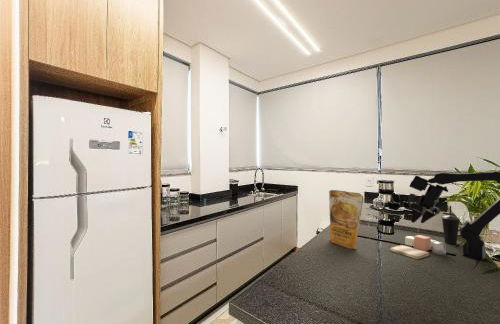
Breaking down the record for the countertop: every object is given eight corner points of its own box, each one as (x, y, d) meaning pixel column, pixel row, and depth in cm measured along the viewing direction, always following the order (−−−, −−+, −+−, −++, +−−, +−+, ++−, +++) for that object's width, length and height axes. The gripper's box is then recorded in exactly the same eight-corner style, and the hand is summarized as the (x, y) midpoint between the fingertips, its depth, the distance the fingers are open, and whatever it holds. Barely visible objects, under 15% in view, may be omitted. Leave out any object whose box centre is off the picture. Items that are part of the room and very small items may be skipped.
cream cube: (417, 245, 121) (417, 238, 121) (413, 247, 119) (413, 239, 119) (409, 243, 125) (409, 235, 125) (405, 244, 123) (405, 237, 123)
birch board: (429, 255, 108) (429, 252, 108) (417, 259, 103) (417, 256, 103) (401, 247, 119) (401, 244, 119) (390, 250, 114) (390, 248, 114)
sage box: (439, 247, 119) (439, 241, 119) (436, 248, 118) (436, 242, 118) (426, 243, 124) (426, 238, 125) (423, 244, 123) (423, 239, 123)
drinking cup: (464, 245, 121) (464, 207, 122) (449, 245, 122) (449, 207, 122) (451, 240, 129) (451, 204, 129) (437, 240, 129) (437, 204, 129)
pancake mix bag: (332, 238, 132) (332, 189, 133) (364, 249, 116) (364, 192, 116) (324, 240, 129) (324, 189, 129) (355, 251, 112) (355, 193, 113)
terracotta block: (430, 249, 116) (430, 237, 116) (425, 251, 113) (425, 238, 113) (419, 246, 120) (419, 234, 120) (414, 248, 118) (414, 236, 118)
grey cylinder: (447, 254, 110) (447, 243, 110) (442, 256, 107) (442, 245, 107) (435, 250, 114) (435, 240, 114) (430, 252, 112) (430, 242, 112)
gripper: (424, 190, 128) (411, 214, 132) (406, 186, 119) (392, 213, 122) (447, 200, 118) (432, 226, 122) (429, 197, 109) (413, 225, 113)
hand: (417, 222), depth 120 cm, fingers open, 9 cm apart
